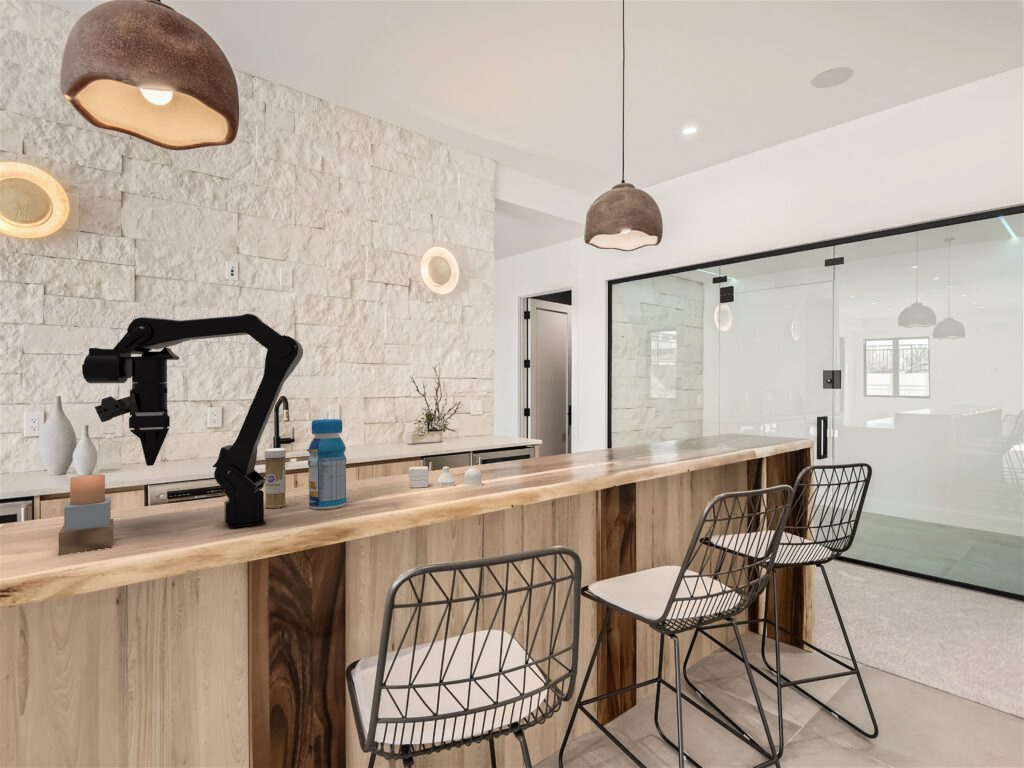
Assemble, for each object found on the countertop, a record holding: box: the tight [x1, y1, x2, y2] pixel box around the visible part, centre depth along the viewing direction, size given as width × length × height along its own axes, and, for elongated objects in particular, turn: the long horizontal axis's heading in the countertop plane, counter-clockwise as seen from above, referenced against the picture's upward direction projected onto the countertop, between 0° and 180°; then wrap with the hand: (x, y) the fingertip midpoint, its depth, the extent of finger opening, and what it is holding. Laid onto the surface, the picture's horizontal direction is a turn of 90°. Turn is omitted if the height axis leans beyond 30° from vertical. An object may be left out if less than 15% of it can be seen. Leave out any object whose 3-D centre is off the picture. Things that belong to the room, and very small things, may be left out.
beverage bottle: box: [307, 418, 348, 511], centre depth 125 cm, size 8×8×20 cm
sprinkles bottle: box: [264, 447, 287, 509], centre depth 126 cm, size 5×5×13 cm
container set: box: [408, 465, 483, 489], centre depth 151 cm, size 20×5×6 cm, turn 94°
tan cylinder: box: [69, 474, 106, 505], centre depth 95 cm, size 5×5×4 cm
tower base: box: [58, 518, 114, 556], centre depth 95 cm, size 7×7×4 cm
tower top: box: [63, 497, 112, 532], centre depth 95 cm, size 6×6×4 cm
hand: (150, 463), depth 106 cm, fingers open, 9 cm apart
